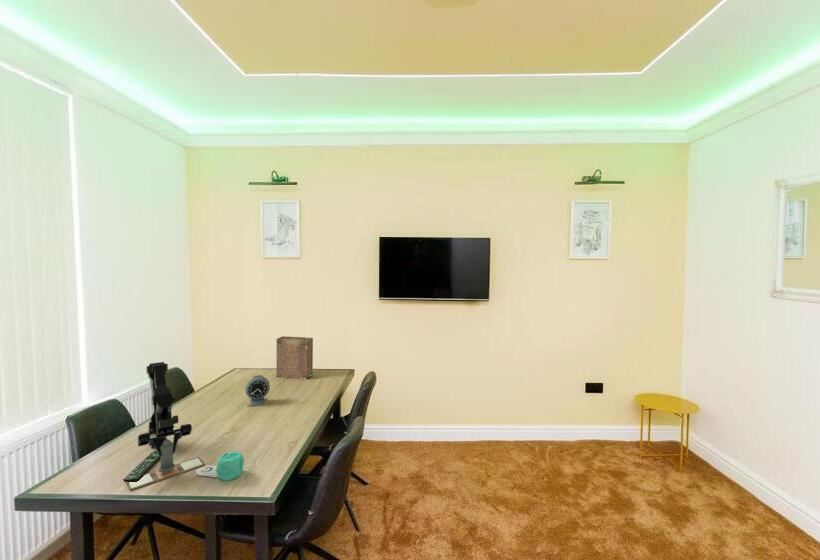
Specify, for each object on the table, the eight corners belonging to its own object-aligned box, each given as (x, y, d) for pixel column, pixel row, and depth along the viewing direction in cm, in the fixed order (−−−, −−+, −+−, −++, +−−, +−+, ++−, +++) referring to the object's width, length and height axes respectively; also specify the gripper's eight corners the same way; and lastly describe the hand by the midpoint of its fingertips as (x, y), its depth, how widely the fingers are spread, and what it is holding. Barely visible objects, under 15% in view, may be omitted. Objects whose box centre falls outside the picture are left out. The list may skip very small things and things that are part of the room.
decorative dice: (236, 480, 150) (236, 461, 150) (216, 481, 150) (216, 461, 149) (243, 469, 158) (244, 451, 158) (224, 470, 158) (224, 451, 157)
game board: (125, 481, 148) (125, 480, 148) (198, 457, 167) (198, 456, 167) (130, 491, 142) (130, 490, 142) (205, 465, 161) (205, 464, 161)
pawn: (164, 465, 157) (164, 437, 156) (177, 465, 157) (177, 437, 157) (155, 472, 151) (155, 443, 151) (169, 472, 152) (169, 443, 151)
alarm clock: (245, 407, 225) (245, 378, 225) (245, 402, 234) (245, 374, 233) (270, 404, 231) (270, 376, 230) (269, 399, 240) (269, 371, 239)
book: (312, 376, 290) (313, 337, 289) (307, 379, 281) (308, 340, 280) (282, 374, 294) (282, 336, 293) (276, 377, 285) (276, 338, 284)
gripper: (137, 415, 151) (139, 453, 142) (191, 405, 162) (195, 439, 154) (137, 427, 157) (138, 464, 149) (188, 416, 169) (192, 450, 161)
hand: (167, 454), depth 153 cm, fingers closed on pawn, 4 cm apart
